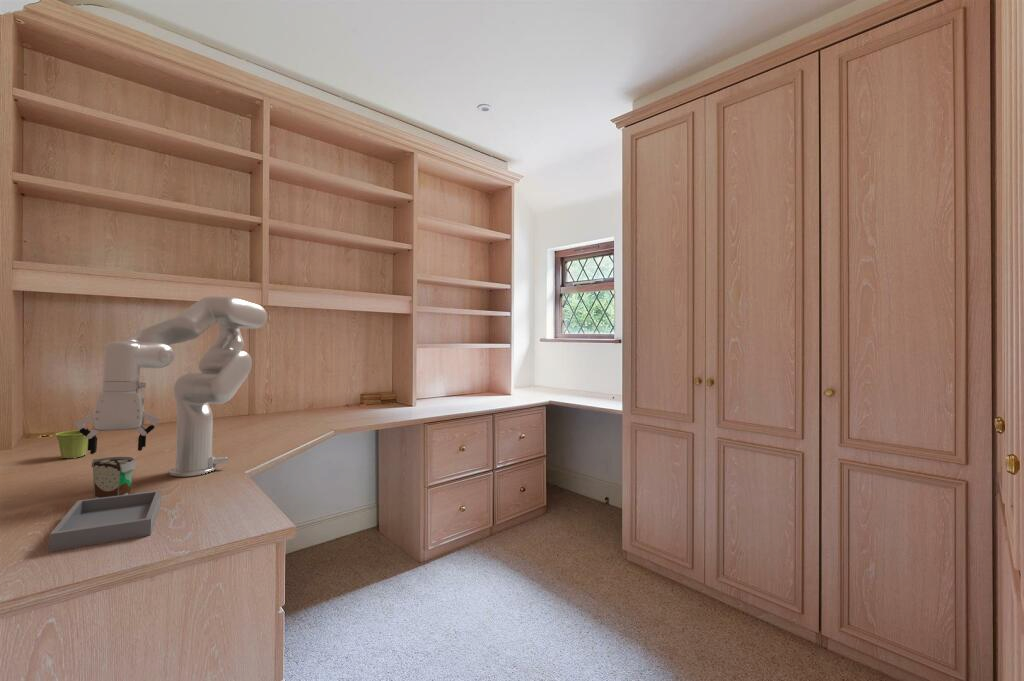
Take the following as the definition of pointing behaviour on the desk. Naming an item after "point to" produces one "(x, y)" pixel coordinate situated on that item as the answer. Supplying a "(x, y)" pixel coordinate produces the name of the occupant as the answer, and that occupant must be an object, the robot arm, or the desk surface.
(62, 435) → the plant pot
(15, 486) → the desk surface
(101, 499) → the parts tray
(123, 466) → the food container
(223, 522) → the desk surface
